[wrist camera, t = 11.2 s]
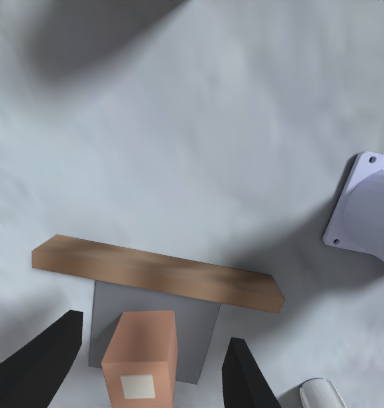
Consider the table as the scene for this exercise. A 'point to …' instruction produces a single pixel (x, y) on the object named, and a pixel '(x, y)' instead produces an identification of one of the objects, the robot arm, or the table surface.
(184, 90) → the table surface
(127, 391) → the marked cube
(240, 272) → the walnut board
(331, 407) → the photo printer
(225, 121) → the table surface
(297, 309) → the table surface
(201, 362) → the slate mat
